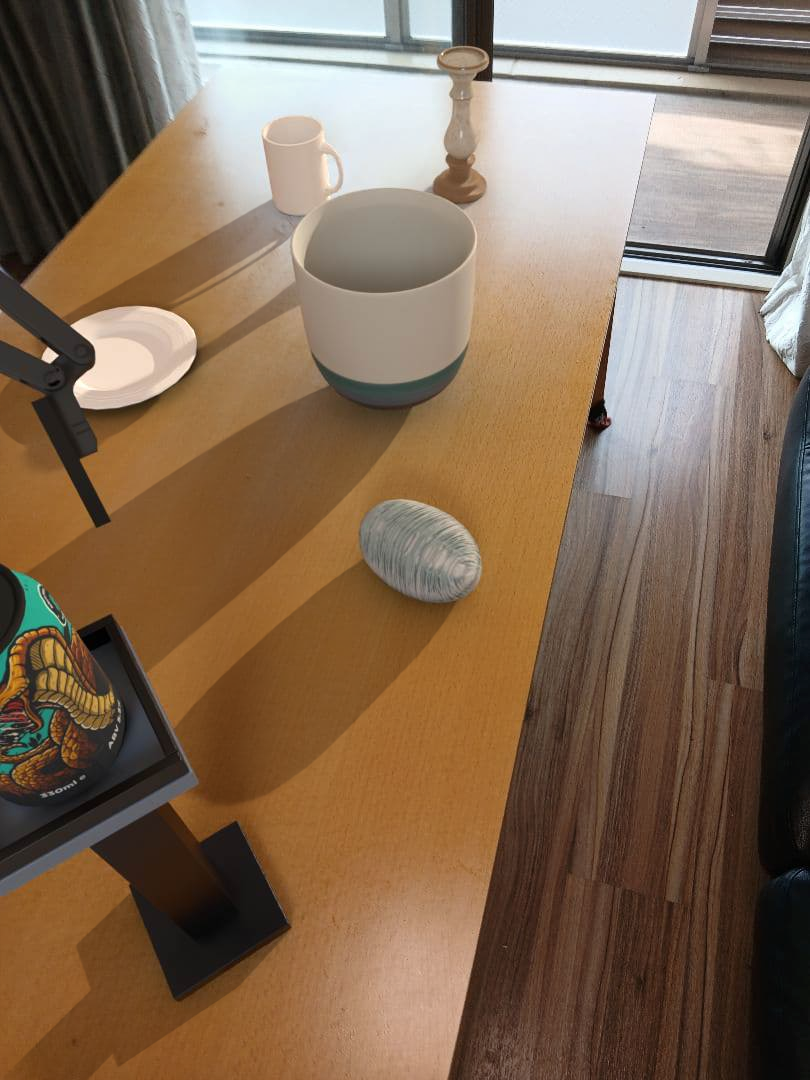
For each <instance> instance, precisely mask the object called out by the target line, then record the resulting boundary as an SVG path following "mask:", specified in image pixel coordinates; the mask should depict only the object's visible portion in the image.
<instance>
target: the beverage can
mask: <svg viewBox="0 0 810 1080" xmlns="http://www.w3.org/2000/svg"><path fill="white" fill-rule="evenodd" d="M76 631H77V630H75V628H74V627H73V625H72V623H71V622H70V621H69V619H68V618H67V617H66V615H65V614H64V612H63V611H62V609H61V608H60V606H59V605H58V604H57V602H56V600H55V599H54V598H53V596H52V595H51V593H50V592H49V591H48V590H47V589H46V588H45V587H44V586H43V584H41V583H40V582H39V581H38V580H36V579H34V578H33V577H30V576H29V575H27V574H25V573H23V572H19V571H16V570H13V569H10V567H8V566H6V565H5V564H3V563H1V562H0V796H1V797H2V798H4V799H5V800H7V801H9V802H12V803H14V804H17V805H21V806H29V807H40V806H50V805H54V804H57V803H61V802H64V801H67V800H69V799H71V798H73V797H75V796H77V795H79V794H81V793H83V792H84V791H86V790H87V789H88V788H90V787H91V786H93V785H94V784H95V783H96V782H97V781H98V780H99V779H100V778H101V777H102V776H103V775H104V774H105V773H106V772H107V771H108V770H109V768H110V767H111V766H112V764H113V763H114V761H115V760H116V758H117V756H118V754H119V752H120V750H121V748H122V746H123V743H124V738H125V734H126V730H127V715H126V710H125V706H124V703H123V701H122V699H121V697H120V695H119V693H118V692H117V690H116V689H115V687H114V686H113V685H112V683H111V682H110V680H109V679H108V677H107V676H106V674H105V673H104V671H103V670H102V669H101V667H100V666H99V664H98V663H97V661H96V660H95V658H94V657H93V656H92V654H91V653H90V651H89V650H88V648H87V647H86V645H85V644H84V643H83V641H82V640H81V638H80V637H79V635H78V634H77V632H76Z"/></svg>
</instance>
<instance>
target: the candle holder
mask: <svg viewBox="0 0 810 1080" xmlns="http://www.w3.org/2000/svg"><path fill="white" fill-rule="evenodd" d="M489 57H490V56H489V54H488V53H487V51H485V50H484V49H482V48H479V47H476V46H472V45H470V46H469V45H459V46H458V45H456V46H452V47H447V48H445V49H443V50H442V51H440V52H439V54H437V57H436V66H437V68H438V69H439V70H440V71H442V72H444V73H447V74H448V77H449V78H450V79H451V81H452V87H451V89H450V91H449V94H448V95H449V98H450V99H452V111H451V117H450V118H451V119H450V122H449V124H448V126H447V128H446V131H445V133H444V136H443V147H444V149H445V151H446V152H447V154H446V156H445V159H444V160H445V164H447V166H448V168H446V169H445V170H443V171H442V172H441V173H440V174H438V175H437V176H436V177H435V178H434V180H433V183H432V190H433V194H434V195H437V196H440V197H442V198H444V199H446V200H448V201H450V202H452V203H453V204H464V203H465V204H466V203H471V202H474V201H476V200H479V199H480V198H482V197H483V196H484V195H485V193H486V192H487V188H488V186H487V185H488V184H487V180H486V178H485V177H484V176H483V175H482V174H480V172H479V171H477V170H476V169H474V168H472V167H473V165H474V164H475V162H476V155H475V154H474V153H475V151H476V150H477V148H478V145H479V136H478V132H477V128H476V127H475V124H474V122H473V118H472V99H473V98H474V97H475V95H476V92H475V90H474V88H473V86H472V82H473V80H474V78H476V76H477V74H478V73H480V72H483V71H484V70H486V69H487V67H488V66H489V63H490V58H489Z"/></svg>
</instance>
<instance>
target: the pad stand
mask: <svg viewBox="0 0 810 1080" xmlns="http://www.w3.org/2000/svg"><path fill="white" fill-rule="evenodd" d="M75 631H76V632H77V634H78V635H79V637H80V638H81V640H82V641H83V643H84V644H85V645H86V647H87V648H88V650H89V651H90V653H91V654H92V656H93V657H94V658H95V660H96V661H97V663H98V664H99V666H100V667H101V669H102V670H103V671H104V673H105V674H106V676H107V677H108V679H109V680H110V682H111V683H112V685H113V686H114V687H115V689H116V690H117V692H118V693H119V695H120V697H121V699H122V701H123V703H124V706H125V710H126V715H127V730H126V734H125V738H124V743H123V746H122V748H121V750H120V752H119V754H118V756H117V758H116V760H115V761H114V763H113V764H112V766H111V767H110V768H109V770H108V771H107V772H106V773H105V774H104V775H103V776H102V777H101V778H100V779H99V780H98V781H97V782H96V783H95V784H94V785H93V786H91V787H90V788H88V789H87V790H86V791H84V792H83V793H81V794H79V795H77V796H75V797H73V798H71V799H69V800H67V801H64V802H61V803H57V804H54V805H50V806H40V807H29V806H21V805H17V804H14V803H12V802H9V801H7V800H5V799H4V798H2V797H1V796H0V897H1V898H3V897H5V896H7V895H9V894H11V893H12V892H14V891H15V890H17V889H18V888H20V887H22V886H24V885H25V884H27V883H30V882H31V881H32V880H34V879H36V878H38V877H40V876H42V875H43V874H45V873H47V872H48V871H50V870H52V869H53V868H56V867H57V866H59V865H61V864H62V863H64V862H65V861H67V860H70V859H71V858H72V857H75V856H76V855H78V854H80V853H81V852H83V851H85V850H87V849H88V848H90V850H92V851H93V852H94V853H95V854H96V855H98V856H99V857H100V859H102V860H103V861H104V862H105V863H106V864H108V865H109V866H110V867H111V868H112V869H113V870H114V871H115V872H117V874H119V875H120V876H121V877H122V878H123V879H124V880H125V881H127V882H128V883H129V884H128V888H129V890H130V893H131V895H132V897H133V900H134V903H135V906H136V907H137V910H138V913H139V915H140V917H141V920H142V923H143V925H144V928H145V931H146V933H147V935H148V938H149V940H150V943H151V945H152V948H153V951H154V953H155V955H156V958H157V961H158V963H159V965H160V968H161V970H162V973H163V976H164V978H165V981H166V983H167V986H168V988H169V991H170V993H171V995H172V999H173V1000H174V1001H176V1002H177V1003H181V1002H182V1001H184V1000H185V999H187V998H188V997H190V996H191V995H192V994H194V993H196V992H197V991H199V990H200V989H202V988H203V987H205V986H207V985H208V984H209V983H211V982H213V981H214V980H215V979H217V978H219V977H220V976H222V975H223V974H224V973H226V972H227V971H230V970H231V969H233V968H234V967H236V966H237V965H239V963H241V962H242V961H244V960H246V959H248V958H249V957H250V956H252V955H254V954H255V953H256V952H258V951H260V950H261V949H263V948H264V947H266V946H268V945H269V944H271V943H272V942H273V941H275V940H276V939H278V938H279V937H281V936H283V935H284V934H286V933H287V932H289V931H290V930H292V924H291V923H290V921H289V918H288V917H287V915H286V913H285V911H284V909H283V907H282V905H281V903H280V902H279V901H280V900H279V899H278V898H277V897H278V896H277V895H276V893H275V891H274V889H273V887H272V885H271V883H270V882H269V879H268V877H267V875H266V873H265V872H264V870H263V867H262V865H261V863H260V862H259V859H258V857H257V855H256V854H255V851H254V850H253V847H252V845H251V843H250V842H249V839H248V837H247V835H246V834H245V831H244V830H243V828H242V826H241V823H240V822H239V820H237V819H236V820H234V821H233V822H231V823H229V824H228V825H226V826H224V827H223V828H220V829H219V830H217V831H216V832H214V833H213V834H211V835H209V836H208V837H206V838H204V839H202V840H201V841H199V840H198V838H197V837H196V836H195V835H194V833H193V832H192V830H191V829H190V828H189V826H188V825H187V824H186V823H185V821H184V820H183V819H182V818H181V816H180V815H179V813H178V812H177V811H176V810H175V809H174V807H173V805H172V804H171V803H170V801H172V800H174V799H175V798H177V797H178V796H180V795H182V794H184V793H185V792H187V791H189V790H191V789H192V788H194V787H196V786H197V785H199V784H200V782H199V779H198V777H197V775H196V773H195V771H194V768H193V767H192V764H191V763H190V761H189V759H188V757H187V755H186V753H185V751H184V748H183V746H182V744H181V742H180V740H179V738H178V736H177V734H176V732H175V729H174V728H173V726H172V724H171V722H170V719H169V717H168V715H167V714H166V711H165V710H164V707H163V705H162V703H161V701H160V699H159V697H158V695H157V693H156V691H155V689H154V687H153V685H152V682H151V681H150V678H149V676H148V674H147V672H146V670H145V668H144V666H143V664H142V661H141V660H140V657H139V656H138V654H137V651H136V650H135V648H134V646H133V644H132V641H131V639H130V638H129V636H128V634H127V632H126V630H125V629H124V627H123V626H121V625H120V624H119V623H118V621H117V619H116V618H115V617H114V615H113V614H112V613H109V614H108V615H107V614H106V616H103V617H101V618H99V619H97V620H95V621H92V622H91V623H88V624H86V625H85V626H83V627H81V628H79V629H77V630H75Z"/></svg>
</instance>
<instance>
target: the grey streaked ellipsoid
mask: <svg viewBox="0 0 810 1080" xmlns="http://www.w3.org/2000/svg"><path fill="white" fill-rule="evenodd" d="M358 544H359V545H358V546H359V550H360V551H361V555H362V556H363V559H364V561H365V563H366V564H367V566H368V567H369V568H370V569H371V571H372V572H374V574H375V575H377V577H379V578H380V579H381V581H383V582H384V583H386V584H387V585H388V586H389V587H391V588H392V589H394V590H396V592H399V593H401V594H402V595H404V596H407V597H409V598H413V599H416V600H419V601H421V602H427V603H435V604H443V603H445V604H446V603H451V602H455V601H458V600H461V599H463V598H465V597H467V596H469V595H470V594H471V593H472V592H473V591H474V590H475V589H476V587H477V586H478V584H479V582H480V579H481V577H482V570H483V561H482V556H481V553H480V550H479V547H478V544H477V542H476V540H475V539H474V537H473V536H472V534H471V533H470V532H469V531H468V529H467V528H466V527H465V526H464V525H463V524H462V523H461V522H459V520H457V519H456V518H455V517H453V516H452V515H451V514H449V513H447V512H445V511H444V510H442V509H439V508H438V507H435V506H433V505H429V504H426V503H423V502H420V501H416V500H411V499H403V498H398V499H390V500H385V501H382V502H379V503H377V504H375V505H374V506H373V507H372V508H370V509H369V510H368V511H367V512H366V513H365V515H364V516H363V518H362V519H361V522H360V524H359V530H358Z"/></svg>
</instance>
